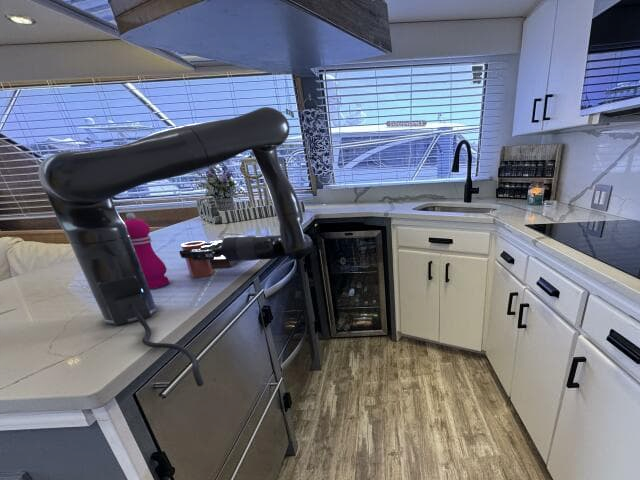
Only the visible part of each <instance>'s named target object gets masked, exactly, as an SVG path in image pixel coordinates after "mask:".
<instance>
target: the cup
mask: <svg viewBox="0 0 640 480" xmlns="http://www.w3.org/2000/svg"><path fill="white" fill-rule="evenodd" d="M206 243H207V242H206V241H204V240H203V241H202V240H198V241H190V242H185V243H181V245H180V247H181V250H193V249H200V248H201V247H202V246H206ZM205 250H207V248H206V249H205ZM198 256H199V254H198ZM184 260H185V264H186V267H187V269H188V273H189V275H190V277H191V278H203V277H207V276H210V275H213V274H214V268H213V267H212V264H211V260H195V261H194V260H192V258H184Z"/></svg>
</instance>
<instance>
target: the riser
mask: <svg viewBox="0 0 640 480" xmlns="http://www.w3.org/2000/svg"><path fill="white" fill-rule="evenodd" d="M214 258H215V259H213V260H211V259H210V260H211V264H212V267H213V269H226V268H227V269H229V268H230V269H231V268H232V267H234V266H236V265H238V264H239V263H240V262H241V261H228V260H227V259H226V258H225V257H224V256H223V255H221V257H217V258H216V257H214Z"/></svg>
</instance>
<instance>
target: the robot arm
mask: <svg viewBox="0 0 640 480" xmlns="http://www.w3.org/2000/svg"><path fill="white" fill-rule="evenodd" d="M289 135H290V123H289V121H288V119H287V117H286V116H285V114H283V113H282V112H281V111H280V110H278V109H276V108H274V107H269V106H263V107H259V108H257V109H255V110H252V111H250V112H246V113H244V114H241V115H238V116H235V117H231V118H225V119H217V120H209V121H205V122H204V121H203V122H199V123H192V124H187V125H182V126H177V127H173V128H168V129H165V130H160V131H158V132H154V133H152V134H150V135H146V136H144V137H141V138H139V139H137V140H134V141H132V142H129V143H126V144H122V145H117V146H112V147H111V146H110V147H103V148H96V149H90V150H89V149H88V150H87V149H86V150H78V151H64V152H57V153H55V154H52V155H49V156H47V157H45V159H43V160H42V161H41V162H40V164H39V166H38V171H37V176H38V179H39V183H40V185H41V188H42V189H43V192H44V194H45V196H46V198H47V201H48V202H49V205H50V206H51V209H52V210H53V214H54V215H55V217H56V220H57V221H58V224H59V226H60V227H61V229H62V230H63V231H62V232H63V233H64V234H65V236H66V238H67V240H68V242H69V244H70V246H71V248H72V251H73V253H74V255H75V258H76V260H77V262H78V265H79V266H80V269H81V270H82V273H83V275H84V278H85V281H86V282H87V284H88V287H89V289H90V291H91V293H92V295H93V297H94V299H95V302H96V304H97V306H98V308H99V310H100V313H101V314H102V315H101V316H102V317H103V320H104V323H105V324H108V325H115V326H116V327H118V326H121V325H125V324H129V323H133V322H137V321H138V322H139V323H140V324H141V326H142V327H143V328H144V331H145V334H144V336H143V338H142V344H143V345H145V346H146V347H149V348H158V349H159V348H160V349H173V350H177V351H178V352H181V353H183V354H184V355H185V356H186V357H187V358H188V359H189V361H190V362H191V364H192V375H193V378H194V381H195V383H196V385H197V387H203V386H204V383H205V382H204V380H203V378H202V375H201V372H200V368H199V367H200V366H199V361H198V359H197V357H196V356H195V354H193V352H192V351H191V350H190V349H188V348H187V347H185V346H183V345H181V344H177V343H169V342H167V343H165V342H163V343H162V342H152V341H149V339H150V338H151V336H152V330H151V327H150V325H149V324H148V322H147V321H146V320H145V319H148V318H150V317H152V315H153V314H155V313H156V312H157V311H158V306H157V304H156V302H155V300H154V297H153V295H152V292H151V289H150V288H149V287H148V284H147V281H146V279H145V276H144V273H143V271H142V268H141V265H140V263H139V260H138V257H137V255H136V252H135V249H134V246H133V244H132V241H131V238H130V236H129V233H128V230H127V228H126V225H125V224H124V220H123V219H122V218H121V216H120V213H118V211H117V209H116V206H115V203H114V201H113V197H116V196H118V195H120V194H123V193H125V192H127V191H130V190H133V189H135V188H137V187H140V186H144V185H145V184H146V185H147V184H150V183H154V182H159V181H164V180H165V181H166V180H169V179H174V178H179V177H183V176H187V175H191V174H195V173H198V172H202V171H204V170H207V169H211V168H214V167H216V166H218V165H220V164H223V163H225V162H227V161H229V160H231V159H233V158H235V157H236V156H237V157H238V155H240V154H242V153H243V154H244V153H245V152H248V151H251V153H252V154H253V157H254V159H255V161H256V163H257V166H258V168H259V170H260V172H261V175H262V178H263V180H264V183H265V184H266V187H267V190H268V193H269V195H270V199H271V203H272V205H273V208H274V212H275V215H276V218H277V222H278V226H279V227H278V229H279V234H278V235H270V234H269V235H268V234H267V235H251V234H249V235H248V234H246V235H244V234H243V235H242V234H241V235H226V236H225V237H223V239H222V240H221V239H220V240H219V239H216V240H214V241H210V242H205V243H206V246H202V247H201V248H200V249H193V250H182V249H180V250H179V256H180V258H181V259H185V258H192V260H194V261H195V260H210V259H211V260H213V259H215V258H214V257H216V258H217V257H221V255H223V256H224V257H225V258H226V259H227V260H228V261H240V262H252V261H253V262H254V261H258V260H275V259H278V258H281V257H288V258H289V259H291V260H294V261H298V260H302V259H303V258H305V257H306V256H308V255H309V254H310V253H311V252H312V251H313V248H314V242H313V240H312V238H311V237H310V236H309V235H308V234H305V233H304V230H303V225H302V224H303V222H304V217H303V212H302V209H301V208H302V207H301V205H300V201H299V198H298V195H297V193H296V190H295V189H294V187H293V185H292V183H291V182H290V181H289V179H288V177H287V176H286V174H285V172H284V170H283V169H282V166H281V163H280V160H279V156H278V151H277V148H278V147H280V146H282V145H283V144H284V143H285V142H286V141H287V139H288V137H289ZM206 248H207V250H205V249H206ZM198 254H199V256H198Z"/></svg>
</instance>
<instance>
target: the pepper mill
mask: <svg viewBox="0 0 640 480" xmlns="http://www.w3.org/2000/svg"><path fill="white" fill-rule="evenodd" d="M125 217H126V219H125V220H123V222H124V224H125V225H126V228H127V230H128V233H129V236H130V238H131V241H132V244H133V246H134V249H135V252H136V255H137V257H138V260H139V263H140V265H141V268H142V271H143V273H144V276H145V279H146V281H147V284H148V287H149V288H150V290H153V289H158V288H161V287H165V286H166V285H168V284H169V283H170V281H169V278H168V276H167V275H166V273H167V270H168V269H167V266H166V264H165V263H164V261H163V260H162V259H161V258H160V257H159V256H158V255H157V254H156V252H155V250H154V249H153V247H152V239H151V236H150V235H149V234H150V232H151V227H150V225H149V224H148V223H147V222H146V220H143V219H141V218H136V215H135V213H133V212H127V213H126V215H125Z"/></svg>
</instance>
